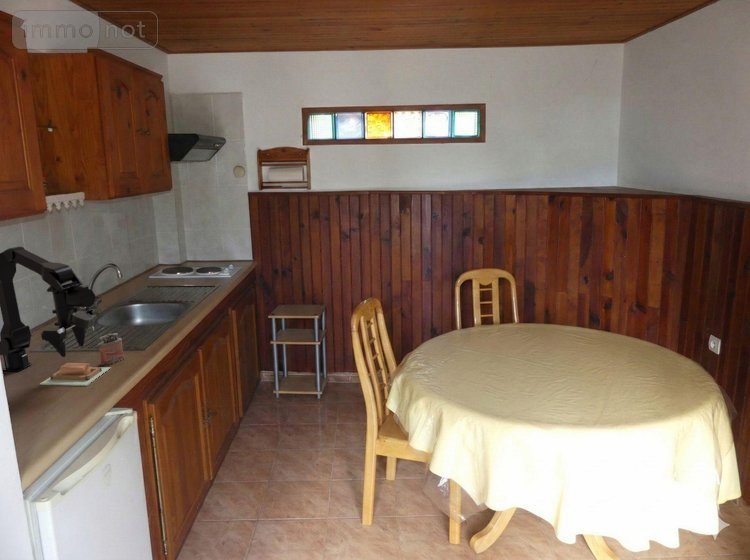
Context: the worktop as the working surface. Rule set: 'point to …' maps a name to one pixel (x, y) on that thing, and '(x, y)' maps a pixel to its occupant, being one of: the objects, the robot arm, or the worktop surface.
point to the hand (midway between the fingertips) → (72, 351)
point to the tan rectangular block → (76, 369)
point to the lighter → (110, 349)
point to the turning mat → (75, 378)
